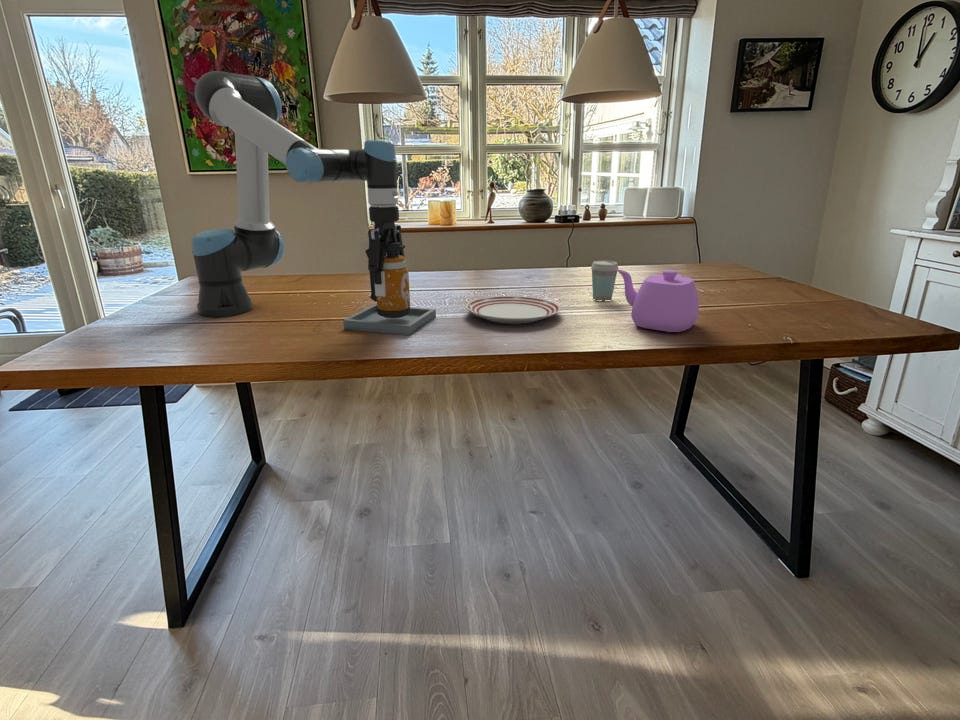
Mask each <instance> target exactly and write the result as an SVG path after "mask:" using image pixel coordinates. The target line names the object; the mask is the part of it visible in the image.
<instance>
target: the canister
mask: <svg viewBox="0 0 960 720" xmlns="http://www.w3.org/2000/svg"><path fill="white" fill-rule="evenodd" d="M405 248H406V245H405V244H403V245H401V243H400V242H397V243H388V246H387V247H386V250H385V257H384V263H383V269H382V271H384V274H385V289H386V296H385V297H383V296H375V282H374V272H373V271H369V279H370V280H369V281H370V293H371V294H370V296H369V298H370V299H371V300H372V301H374V302H376V304H377V308H378V309H377V312H378V315H380V316H383V317H385V318H400V317H404V316H405V315H408V314H409V313H410V307H411V297H410V296H411V295H410V275H409V268H408V267H407V262H406V261H407V260H406V257H405V258H404V256H405V255H404V256H401V255H398V252H400V251H401V250H402V249H403V250H404V249H405ZM365 254H366V257H367V258H368V257H369V248H367V249H366V250H365Z"/></svg>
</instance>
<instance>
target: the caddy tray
mask: <svg viewBox="0 0 960 720" xmlns="http://www.w3.org/2000/svg"><path fill="white" fill-rule="evenodd" d="M377 309H378V308H377V303H375V304H372V305H370V306H368V307H366V308H364V309H363V310H360V311H358V312H356V313H353V314H352V315H350V316H348V317H346V318H344V319H342V322H343V323H342V324H343V329H344V330H350V331H351V330H353V331H359V330H360V332H362V331H363V332H370V333H380V334H390V335H400V336H412V335H413V334H414V333H416V332H418V331H419V330H420V329H422V328H423V327H425V326H426V325H427V324H429V323H430V322H432V321H434V320H435V319H436V318H437V313H436V311H437V310H436V308H425V307H415V306H414V307H413V306H410V313H409V314H408V315H405V316H404V317H400V318H385V317H383V316H380V315H378V312H377ZM434 318H435V319H434Z"/></svg>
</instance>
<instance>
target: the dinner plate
mask: <svg viewBox="0 0 960 720" xmlns="http://www.w3.org/2000/svg"><path fill="white" fill-rule="evenodd" d="M465 308H466V310H467V312H469V313H471V314H473V315H474V316H476V317H479V318H481V319H484V320H486V319H487V320H486V321H489V320H490V322H492V321H493V323H497V322H498V323H499V324H506V323H508V324H510V325H517V324H519V325H520V324H522V323H523V324H529V323H535V321H536V322H538V320H539V321H541V320H544V319H547V318H549V317H552V316H554V315H556V314H558V313H559V312H560V311H561V306H560V305H559V304H558V303H556V302H554V301H552V300H548V299H544V298H539V297H533V296H524V295H523V296H521V295H494V296H487V297H486V296H484V297H479V298H476V299H473V300H470V301H468V302H467V303H466V304H465Z"/></svg>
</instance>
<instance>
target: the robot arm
mask: <svg viewBox="0 0 960 720" xmlns="http://www.w3.org/2000/svg"><path fill="white" fill-rule="evenodd" d="M194 97H195V102H196V104H197V106H198V108H199V110H200V111H201V112H202V113H203V114H204V115H205V116H206V117H207V118H208V119H209V120H211V121H212V122H214V123H215V124H216V125H218V126H221V127H224V128H225V127H226V128H227V127H228V128H230V130H231V131H232V132H233V133H234V139H235V140H234V142H235V143H234V144H235V159H236V161H235V162H236V163H235V164H236V177H237V179H236V180H237V181H236V182H237V183H236V184H237V198H238V199H237V200H238V201H237V202H238V217H239V218H238V219H237V220H236V221H235V222H234V223H233V225H234V226H233V227H234V229H231V228H217V229H211V230H210V229H209V230H205V231H201V232H198V233H196V234H195V235H193V236H192V238H191V240H190V241H191V253H192V255H193V260H194V265H195V269H196V274H197V280H198V284H199V292H198V302H197V303H196V309H197V313H198V315H199V316H203V317H216V318H217V317H218V318H219V317H228V316H229V317H230V316H235V315H241V314H243V313H247V312H249V311H252V309H253V308H254V304H253V300H252V297H250V296H249V294H248V291H247V289H246V287H245V285H244V282H243V277H242V276H243V275H242V272H247V271H251V270H257V269H265V268H268V267H270V266H271V267H272V266H274V265H277V264H278V263H279V262H280V261H281V259H282V257H283V255H284V252H285V244H284V240H283V238H281V237H282V236H281V233H280V232H279V231H278V230H277V229H276V225H275V224H274V223H273V222H272V221H271V218H270V216H271V213H270V181H269V180H270V179H269V177H270V176H269V155H270V156H271V157H273V158H274V159H276V160H277V161H279V162H280V163H282V164H284V165H285V167H286V171H287V173H288V174H289V175H290V178H292V180H293V181H296V182H298V183H306V184H314V183H322V182H323V183H324V182H325V183H327V182H348V181H350V182H351V181H352V182H353V181H363V182H364V181H365V182H366V185H367V186H366V187H367V198H368V199H367V204H368V205H370V206H369V207H368V214H369V215H368V216H369V221H370V222H371V223H374V228H373V230H368V232H367V235H368V236H367V237H368V249H369V257H367V259H368V262H367V269H368V271H369V272H370V271H373V272H374V282H375V296H383V297H385V296H386V289H385V274H384V271H382V269H383V263H384V257H385V250H386V247H387V246H388V243H397V242H400V243H401V245H404V244H403V239H402V226H401V225H400V224H399V225H398V224H395V222H398V221H399V220H400V211H399V210H400V209H399V207H398V206H397V204H398V203H399V199H398V196H399V192H398V184H397V180H398V179H397V161H398V160H397V156H396V155H397V154H396V147H395V143H394V142H393V141H391V140H385V139H381V140H379V139H375V140H373V139H371V140H366V141H364V144H363V147H364V148H363V149H349V148H348V149H347V148H345V149H344V148H342V149H341V148H319V147H316V146H314V145H312V144H310V143H309V142H308V141H306V140H305V139H303V138H302V137H300V136H298V135H297V134H295V133H294V132H292V131H291V130H289V129H288V128H286V126H285V127H284V126H283V125H282V124H280V123H279V120H280V119H279V118H281V116H282V112H283V109H282V101H281V98H280V95H279V93H278V91H277V89H276V88H275V87H274V85H273V83H272V82H270V81H269V80H267V79H265V78H264V77H263V78H262V77H258V76H254V75H247V74H240V73H234V72H233V73H232V72H226V71H221V70H213V71H209V72H206V73H204V74H203V75H201V77H199V79H198V80H197V82H196V83H195V86H194ZM398 255H401V256H404V258H405V259H406V257H405V251H404V249H402V250H401V251H400V252H398Z"/></svg>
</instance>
